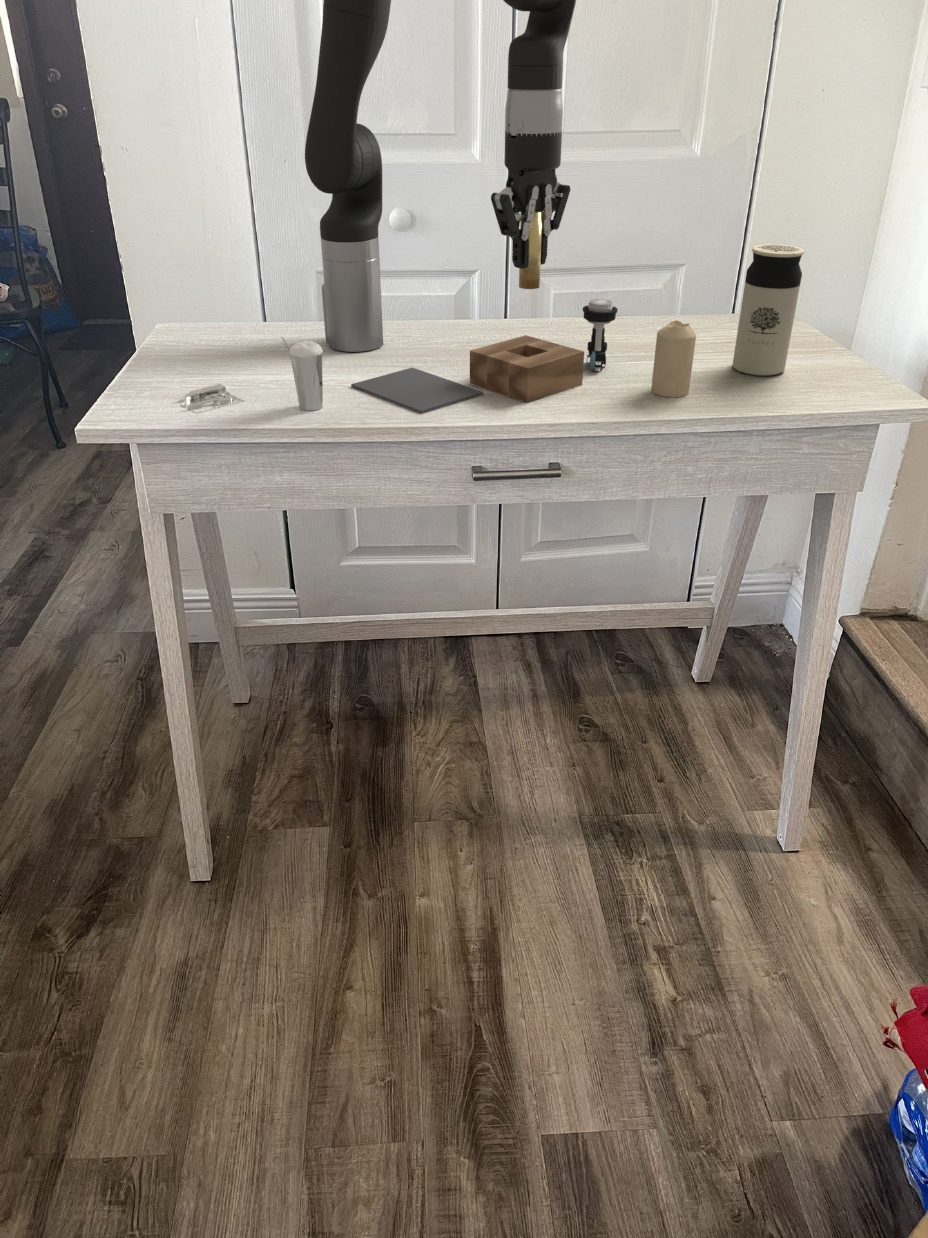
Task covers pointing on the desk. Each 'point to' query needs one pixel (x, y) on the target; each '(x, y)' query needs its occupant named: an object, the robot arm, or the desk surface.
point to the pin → (532, 254)
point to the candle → (673, 360)
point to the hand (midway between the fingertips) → (529, 264)
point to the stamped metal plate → (208, 398)
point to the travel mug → (768, 309)
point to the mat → (417, 390)
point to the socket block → (526, 368)
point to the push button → (598, 330)
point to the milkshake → (307, 374)
